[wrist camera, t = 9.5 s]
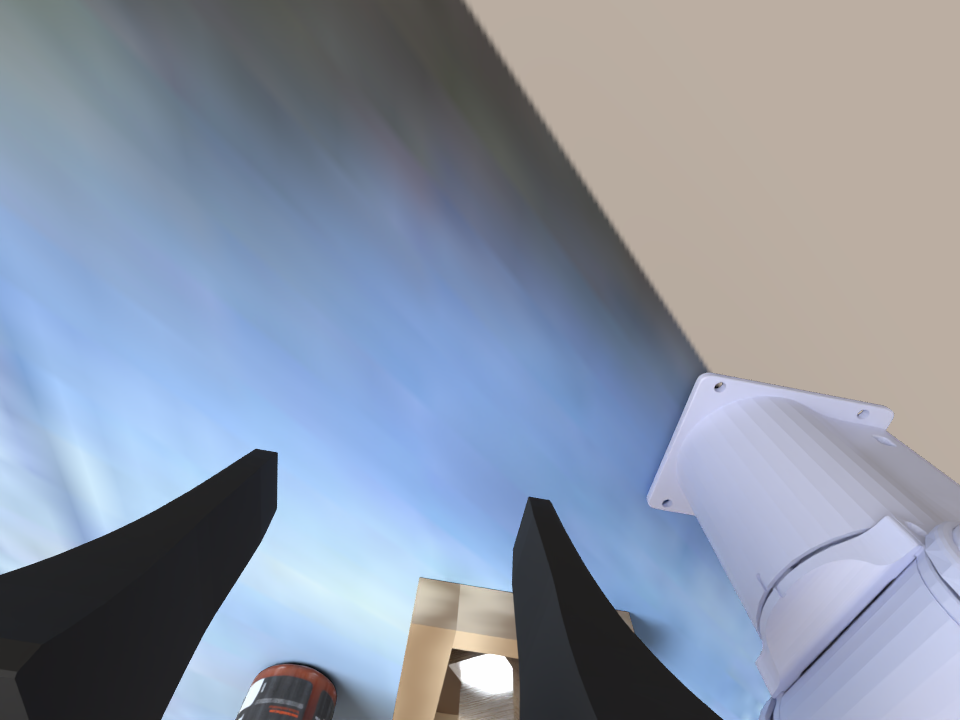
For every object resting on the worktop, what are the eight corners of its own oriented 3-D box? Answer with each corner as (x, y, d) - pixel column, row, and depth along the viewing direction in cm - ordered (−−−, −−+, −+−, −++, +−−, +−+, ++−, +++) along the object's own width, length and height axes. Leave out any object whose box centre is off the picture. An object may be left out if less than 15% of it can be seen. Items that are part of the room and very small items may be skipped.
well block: (628, 612, 29) (642, 660, 26) (568, 740, 35) (574, 790, 32) (419, 577, 29) (411, 623, 26) (393, 713, 34) (384, 762, 32)
